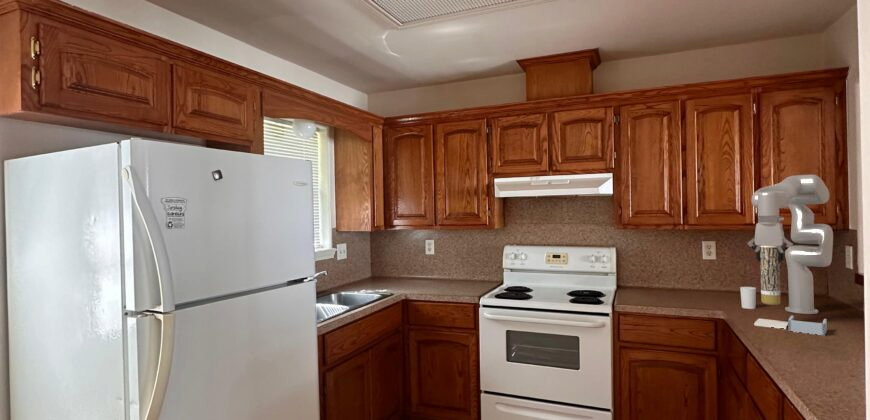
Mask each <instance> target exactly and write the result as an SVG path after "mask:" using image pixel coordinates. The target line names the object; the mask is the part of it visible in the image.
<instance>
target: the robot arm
mask: <svg viewBox="0 0 870 420" xmlns="http://www.w3.org/2000/svg"><path fill="white" fill-rule="evenodd" d="M829 200H830V191H829V189H828V187H827V185H826V184H825V182H824V181H823V179H822V178H821V177H819V176H818V175H817V174H799V175H791V176H788V177H786V178H784V179H783V180H782V181H780V182H778V183H775V184H772V185H767V186H763V187H761V188H758V190H757V189H756V191H754V193H753V194H752V195H751V205H752V206H753V207H754V208H756V209H757V219H758V220H757V223H756V224H755V230H754V231H755V232H754V237H753V238H751V240H749V241H747V243H746V244H747V246H748V247H750V248H751V249H752V250H753V251H754V252H755V259H756V260H757V262H760V246H777V247H778V249H779V262H780V263H783V261H784V255H785V260H786V261H785V262H786V266H787V279H788V282H787V283H788V306H786V307H785V308H784V310H785V311H786V312H789V313H793V314H800V315H801V314H804V315H815V314H818V313H819V310H818V309H816V308H815V306H814V305H815V303H814V302H815V298H814V296H815V295H814V275H813V273H812V271H811V270H810V269H809V268H808V267H819V268H821V267H822V268H823V267H824V268H825V267H828V266H830V265H831V263H832V259H833V247H834V246H833V245H834V232H833V229H832V227H831V226H830V225H829V224H825V223H815V222H814V221H815V214H814V212H813V211H812V210H811V209H810V208H809V207H808V206H807V205H823V204H826V203H827V202H828V201H829ZM784 208H789V211H790V213H791V224H790V225H791V226H790V228H791V229H790V239H791V240H792V241H789V240H788V239H787V238H786V237H785V233H784V227H783V223H781V221H784V217H782V216H780V209H784ZM792 242H794V243H795V244H796V243H797V244H799V245H793V243H792ZM753 243H754V244H753ZM785 244H786V246H785ZM800 244H809V245H800ZM812 244H813V245H812ZM818 245H819V246H818ZM783 246H784V247H783Z"/></svg>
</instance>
